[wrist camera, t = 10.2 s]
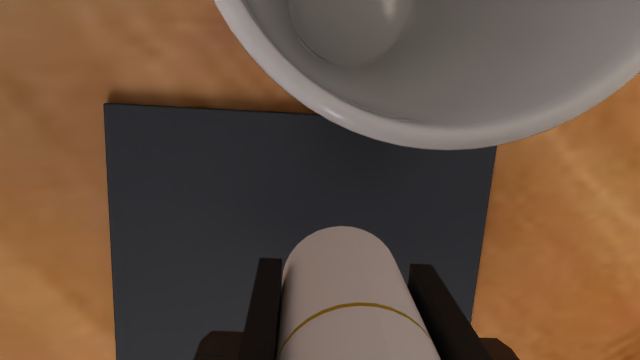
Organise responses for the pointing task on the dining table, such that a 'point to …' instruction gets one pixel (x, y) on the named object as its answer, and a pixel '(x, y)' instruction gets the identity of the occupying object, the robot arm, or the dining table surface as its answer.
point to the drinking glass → (443, 63)
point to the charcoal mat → (266, 212)
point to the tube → (348, 302)
